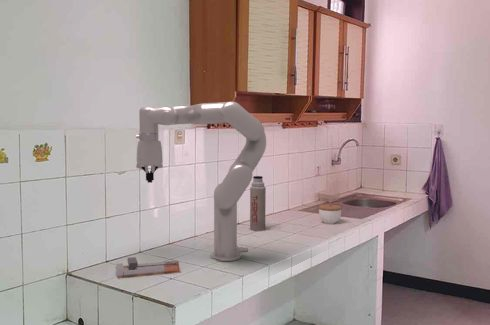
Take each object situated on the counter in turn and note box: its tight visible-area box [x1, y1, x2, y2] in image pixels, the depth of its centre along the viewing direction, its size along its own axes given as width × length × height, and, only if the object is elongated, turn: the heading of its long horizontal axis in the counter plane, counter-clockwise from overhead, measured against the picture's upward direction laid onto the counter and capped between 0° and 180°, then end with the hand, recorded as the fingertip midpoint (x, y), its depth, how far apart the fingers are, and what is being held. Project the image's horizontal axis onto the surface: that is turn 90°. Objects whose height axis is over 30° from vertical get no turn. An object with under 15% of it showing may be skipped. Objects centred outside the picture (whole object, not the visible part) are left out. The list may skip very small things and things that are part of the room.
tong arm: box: [127, 260, 180, 269], centre depth 189 cm, size 19×3×2 cm, turn 107°
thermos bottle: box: [249, 175, 267, 232], centre depth 260 cm, size 8×8×28 cm
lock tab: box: [127, 256, 139, 268], centre depth 185 cm, size 3×7×2 cm, turn 18°
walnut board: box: [115, 264, 182, 279], centre depth 190 cm, size 23×15×1 cm, turn 108°
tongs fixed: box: [115, 262, 178, 278], centre depth 187 cm, size 22×7×3 cm, turn 108°
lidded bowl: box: [318, 202, 343, 225], centre depth 278 cm, size 13×13×11 cm
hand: (149, 182), depth 205 cm, fingers closed
